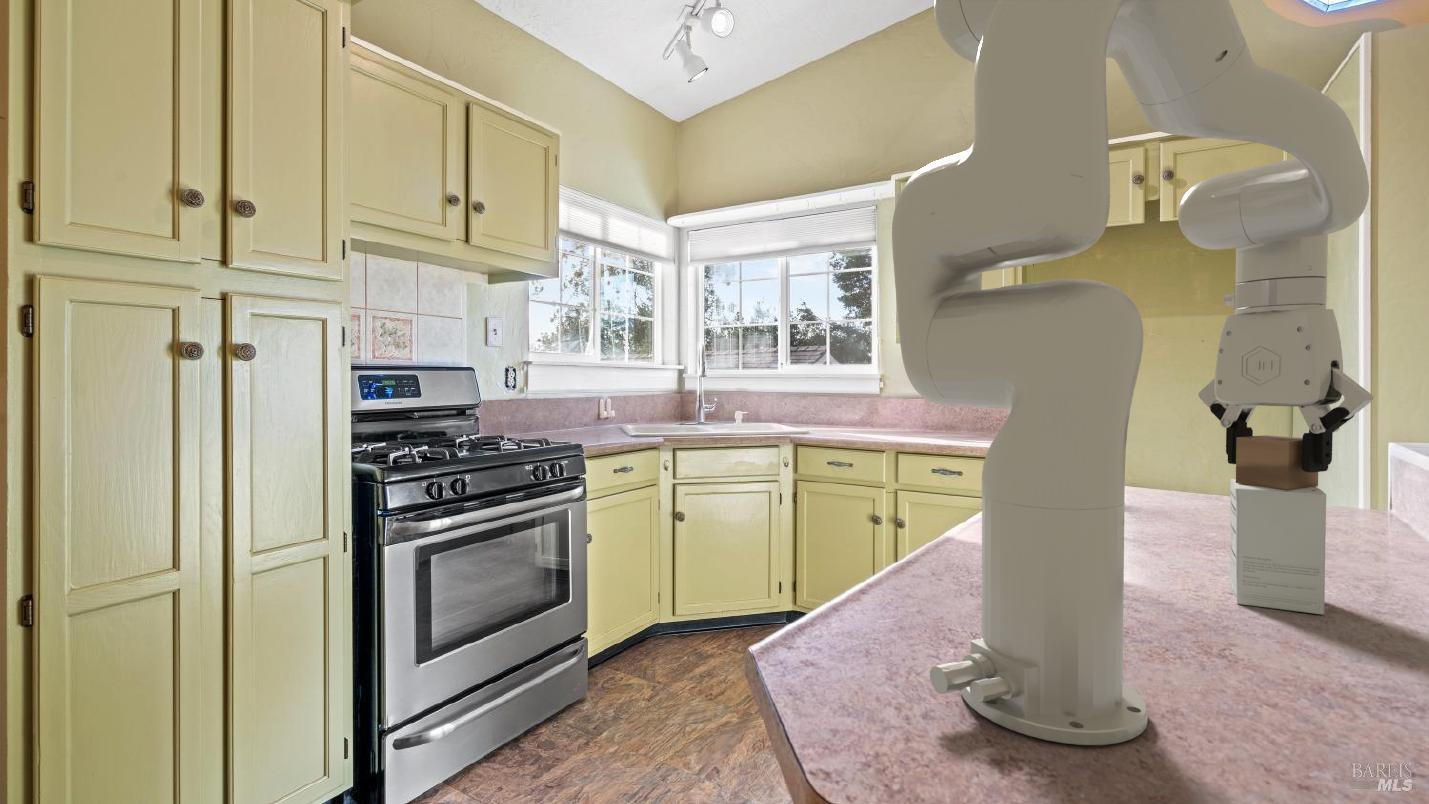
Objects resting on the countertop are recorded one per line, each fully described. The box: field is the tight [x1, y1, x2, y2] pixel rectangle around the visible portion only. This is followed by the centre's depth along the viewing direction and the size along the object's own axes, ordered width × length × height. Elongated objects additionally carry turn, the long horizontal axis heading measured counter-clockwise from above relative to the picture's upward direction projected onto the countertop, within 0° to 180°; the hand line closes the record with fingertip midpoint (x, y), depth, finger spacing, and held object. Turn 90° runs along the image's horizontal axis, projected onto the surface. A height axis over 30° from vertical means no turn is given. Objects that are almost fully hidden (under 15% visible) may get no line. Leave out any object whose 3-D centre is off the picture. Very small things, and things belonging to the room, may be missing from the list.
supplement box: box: [1228, 478, 1327, 615], centre depth 74 cm, size 7×7×13 cm
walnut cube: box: [1235, 434, 1319, 490], centre depth 73 cm, size 5×5×5 cm
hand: (1275, 465), depth 73 cm, fingers open, 6 cm apart
